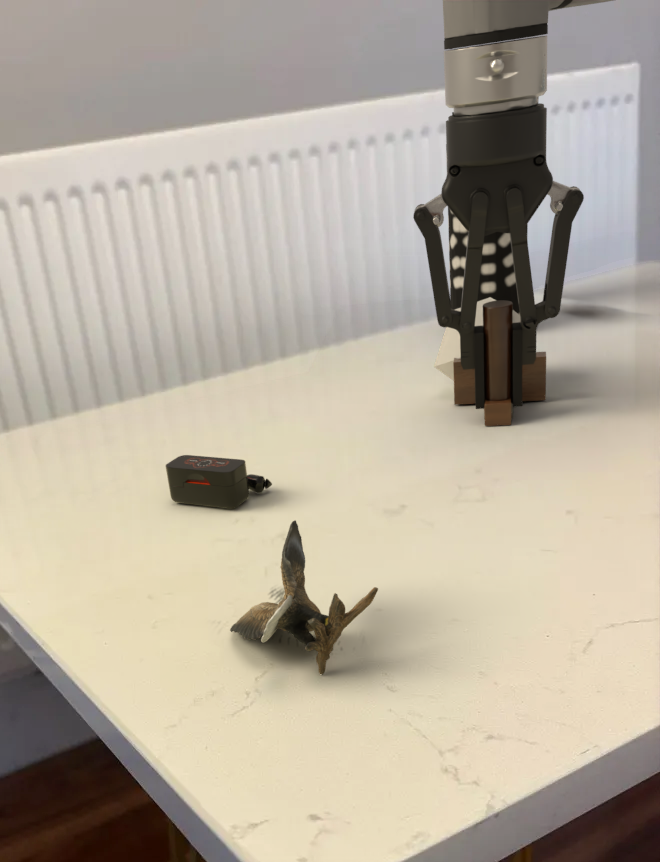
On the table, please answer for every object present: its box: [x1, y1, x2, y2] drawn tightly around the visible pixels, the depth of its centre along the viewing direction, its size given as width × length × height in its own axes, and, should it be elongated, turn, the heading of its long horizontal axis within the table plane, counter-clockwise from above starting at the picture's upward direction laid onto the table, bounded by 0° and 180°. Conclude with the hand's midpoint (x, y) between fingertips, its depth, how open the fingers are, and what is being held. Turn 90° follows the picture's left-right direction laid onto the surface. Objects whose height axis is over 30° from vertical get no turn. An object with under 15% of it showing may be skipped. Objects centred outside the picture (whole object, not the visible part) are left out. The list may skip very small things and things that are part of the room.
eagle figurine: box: [229, 519, 379, 675], centre depth 59 cm, size 8×7×9 cm
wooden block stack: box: [453, 300, 547, 427], centre depth 89 cm, size 8×8×10 cm
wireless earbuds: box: [165, 454, 273, 510], centre depth 82 cm, size 5×7×3 cm, turn 57°
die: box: [433, 297, 520, 382], centre depth 96 cm, size 8×9×10 cm
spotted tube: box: [445, 145, 529, 315], centre depth 112 cm, size 8×8×20 cm
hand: (498, 402), depth 89 cm, fingers closed on wooden block stack, 2 cm apart
